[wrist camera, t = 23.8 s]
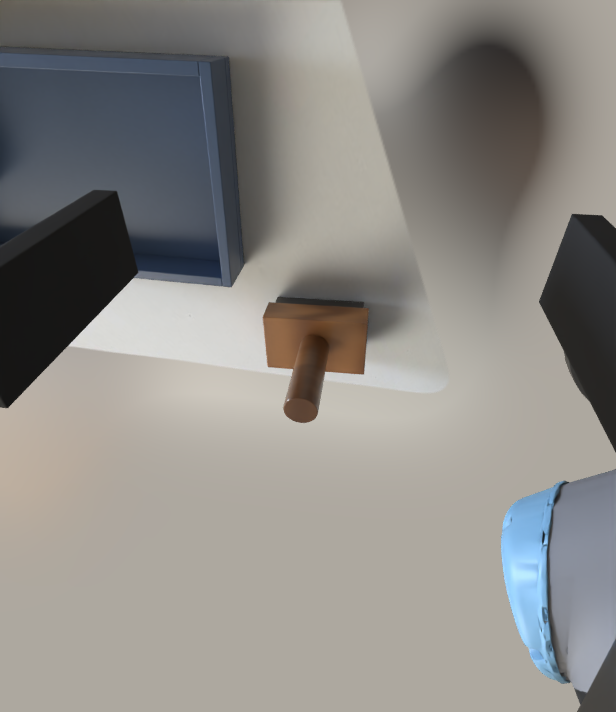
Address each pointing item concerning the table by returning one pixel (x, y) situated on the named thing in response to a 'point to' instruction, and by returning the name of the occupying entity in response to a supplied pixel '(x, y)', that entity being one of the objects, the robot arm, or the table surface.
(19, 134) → the tray
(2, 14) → the table surface
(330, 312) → the stamp
